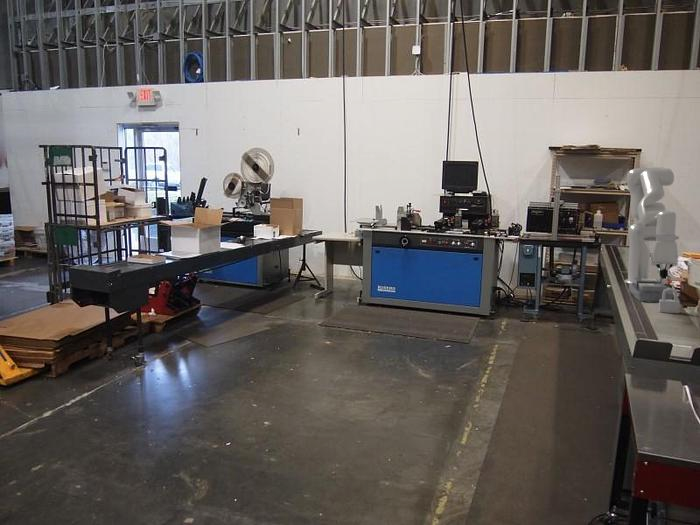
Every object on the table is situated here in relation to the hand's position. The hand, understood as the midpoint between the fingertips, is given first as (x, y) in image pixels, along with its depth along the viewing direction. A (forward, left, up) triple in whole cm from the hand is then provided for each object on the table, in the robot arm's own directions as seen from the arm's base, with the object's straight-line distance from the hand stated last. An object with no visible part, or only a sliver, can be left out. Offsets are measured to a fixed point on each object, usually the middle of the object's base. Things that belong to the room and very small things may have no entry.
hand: (663, 278), depth 247 cm
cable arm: (-6, +3, -8) cm, 11 cm away
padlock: (+29, -4, -9) cm, 31 cm away
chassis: (-3, -5, -9) cm, 11 cm away
